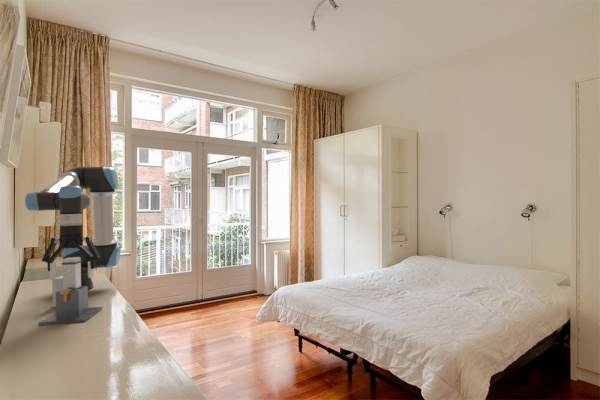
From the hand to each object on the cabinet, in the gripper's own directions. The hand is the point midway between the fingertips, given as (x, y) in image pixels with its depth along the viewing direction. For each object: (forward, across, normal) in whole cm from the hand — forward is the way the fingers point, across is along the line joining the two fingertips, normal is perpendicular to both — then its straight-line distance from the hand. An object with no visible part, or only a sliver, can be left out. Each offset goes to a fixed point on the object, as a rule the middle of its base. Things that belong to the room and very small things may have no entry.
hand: (72, 278), depth 136 cm
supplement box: (+16, -11, +19) cm, 27 cm away
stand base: (+15, 0, 0) cm, 15 cm away
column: (+14, 0, 0) cm, 14 cm away
